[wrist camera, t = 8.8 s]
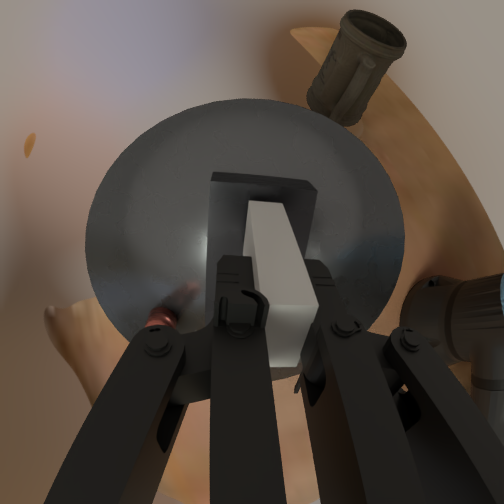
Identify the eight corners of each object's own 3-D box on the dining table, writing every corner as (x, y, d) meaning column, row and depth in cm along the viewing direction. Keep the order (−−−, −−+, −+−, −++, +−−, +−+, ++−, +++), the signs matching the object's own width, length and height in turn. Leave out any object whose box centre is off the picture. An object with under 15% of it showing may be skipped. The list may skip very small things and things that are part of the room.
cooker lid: (424, 136, 15) (458, 146, 12) (347, 367, 25) (357, 396, 22) (86, 99, 13) (55, 101, 10) (119, 359, 23) (109, 389, 20)
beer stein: (308, 75, 48) (340, -2, 28) (359, 91, 49) (405, 24, 29) (300, 137, 45) (343, 55, 26) (359, 154, 46) (422, 88, 26)
